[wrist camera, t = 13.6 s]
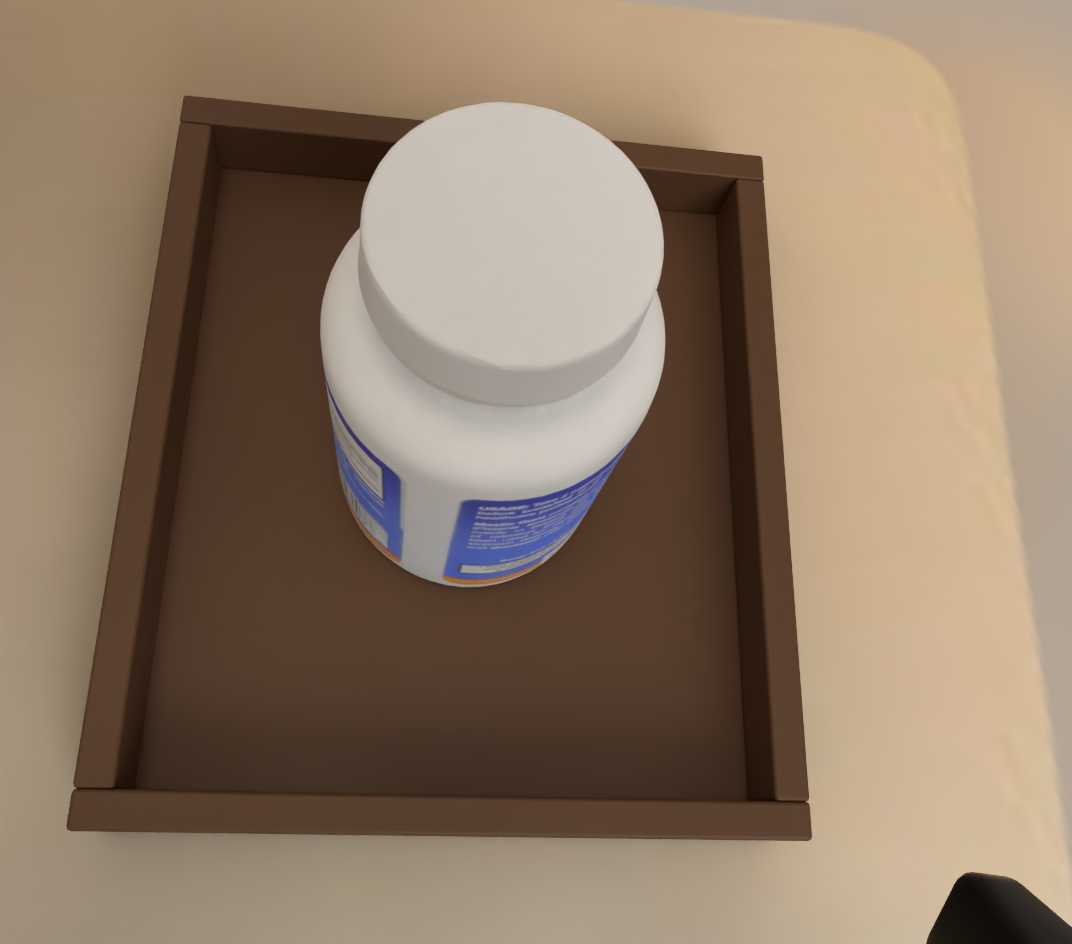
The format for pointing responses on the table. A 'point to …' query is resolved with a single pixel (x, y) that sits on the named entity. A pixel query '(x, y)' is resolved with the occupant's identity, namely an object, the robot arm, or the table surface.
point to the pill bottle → (491, 338)
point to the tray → (411, 601)
